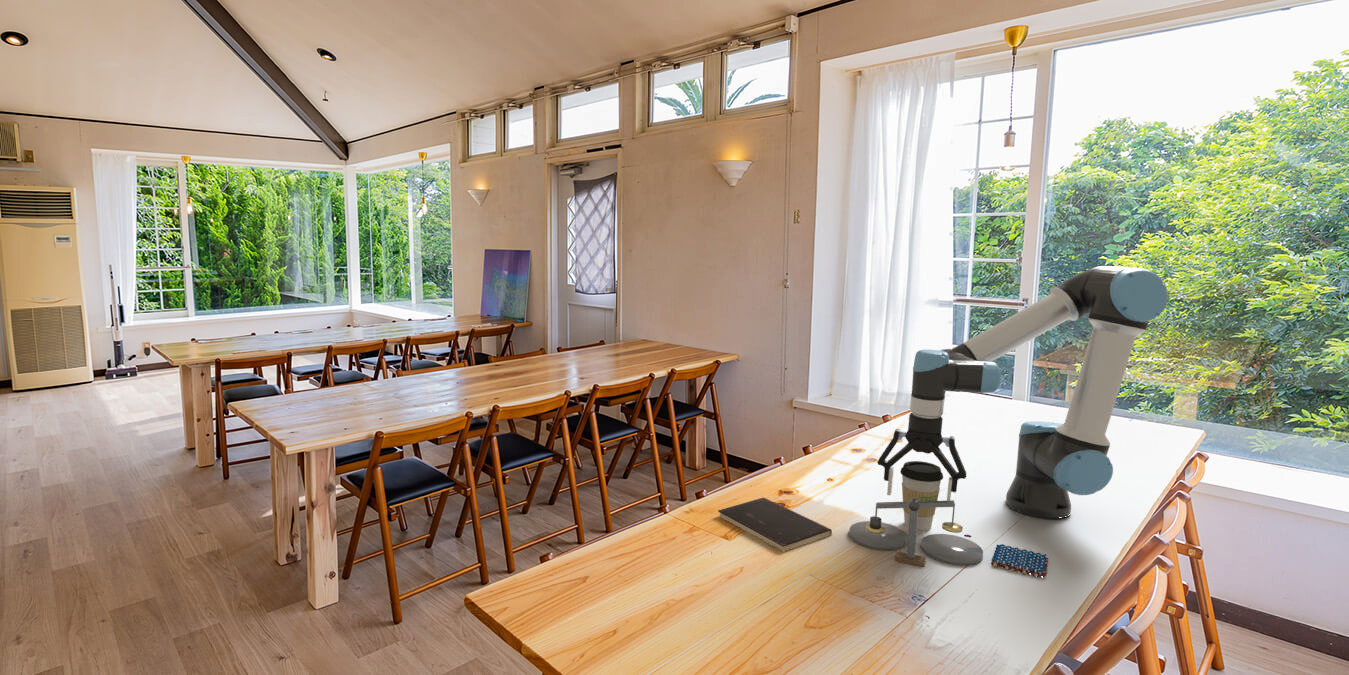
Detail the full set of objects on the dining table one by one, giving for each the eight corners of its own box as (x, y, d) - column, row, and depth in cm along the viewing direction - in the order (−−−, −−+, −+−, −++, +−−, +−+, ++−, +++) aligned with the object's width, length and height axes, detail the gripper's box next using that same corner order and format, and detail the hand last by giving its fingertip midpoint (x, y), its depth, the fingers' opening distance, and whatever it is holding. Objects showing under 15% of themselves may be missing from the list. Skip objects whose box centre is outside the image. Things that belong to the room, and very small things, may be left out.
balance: (959, 566, 145) (964, 499, 142) (958, 575, 141) (964, 506, 139) (865, 548, 152) (869, 484, 150) (862, 555, 149) (867, 490, 147)
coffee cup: (942, 536, 160) (947, 475, 157) (899, 531, 161) (903, 472, 159) (935, 519, 169) (939, 462, 167) (894, 515, 171) (898, 458, 169)
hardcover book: (782, 555, 150) (783, 545, 149) (717, 518, 168) (718, 510, 168) (831, 537, 159) (832, 528, 159) (765, 505, 178) (765, 496, 177)
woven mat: (1045, 582, 140) (1046, 573, 139) (990, 568, 145) (990, 559, 145) (1049, 562, 149) (1049, 553, 148) (996, 549, 154) (997, 541, 154)
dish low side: (909, 532, 161) (909, 527, 161) (904, 554, 150) (904, 549, 149) (854, 521, 167) (854, 517, 166) (845, 543, 155) (845, 538, 155)
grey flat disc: (982, 545, 155) (982, 540, 155) (982, 570, 143) (983, 565, 143) (922, 534, 160) (923, 529, 160) (918, 557, 148) (918, 552, 148)
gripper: (982, 418, 160) (973, 502, 163) (874, 404, 169) (868, 484, 173) (983, 425, 153) (973, 514, 156) (870, 410, 163) (863, 494, 166)
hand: (918, 498), depth 164 cm, fingers open, 13 cm apart
